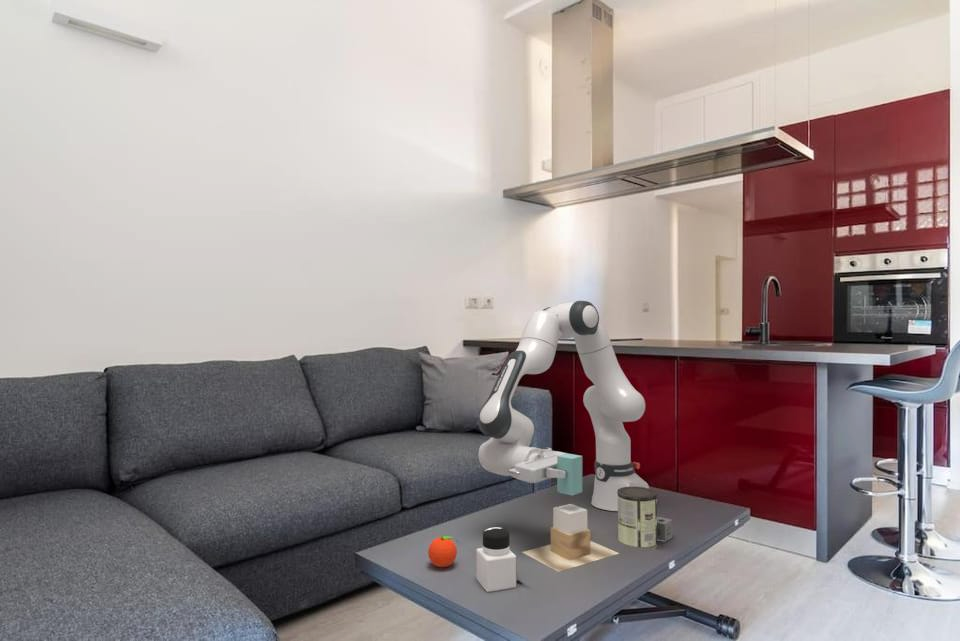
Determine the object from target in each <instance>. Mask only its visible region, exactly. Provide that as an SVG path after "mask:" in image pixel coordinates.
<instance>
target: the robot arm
mask: <svg viewBox="0 0 960 641" xmlns="http://www.w3.org/2000/svg"><path fill="white" fill-rule="evenodd" d="M606 329H607V328H606V327H605V325H604V323H603V322H602V320H601V318H600V315H599V312H598V309H597V308H596V307H595V306H594V304H593V303H592V302H590V301H588V300H587V301H586V300H576V301H569V302H563V303H560V304H557V305H553V306H548V307H546V308H544V309H542V310H538V311H537V310H536V311H534V312H533V313H532V314H531V315H530V317H529V319H527V322H526V324H525V327H524V329H523V332H522V335H521V336H520V341H519V343H518V346H517V347H516V350H514V351H512V352H511V353H509V355H508V356H507V358H506V359H505V361H504V363H503V365H502V367H501V370H500V372H499V373H498V376H497V378H496V380H495V382H494V385H493V387H492V390H491V392H490V393H489V395H488V398H487V399H486V400H485V402H484V404H483V405H482V407H481V409H480V410H479V412H478V417H477V419H478V420H477V424H478V428H479V430H480V432H482V434H483V435H485V436H488V437H490V438H489V439H488V440H486V441H485V442H483V443H481V445H480V446H479V449H478V454H477V455H478V456H477V457H478V460H479V463H480V465H481V467H482V468H483V469H485V470H486V471H488V472H490V473H493V474H495V475H499V476H503V477H510V476H511V477H512V478H514V479H517V480H520V481H521V482H525V483H529V484H530V483H531V484H536V483H540V482H542V481H546V480H549V479H557V478H563V479H564V478H566V477H568V475H567V474H568V472H567V470H557V456H560V455H563V454H567V453H568V452H563V451H558V450H557V451H556V450H553V449H552V448H551V447H534V446H531V445H532V441H533V439H534V435H535V424H534V422H533V420H532V419H531V418H529V417H528V416H526V415H525V414H523V413H521V411H518V410H517V409H514V408H513V406H512V398H513V396H514V394H515V391H516V389H517V387H518V385H519V382H520V380H521V379H522V377H523V376H524V375H538V374H542V373H544V372H546V371H547V370H548V369H550V368H551V366H552V364H553V362H554V360H555V359H554V358H555V356H556V351H557V347H558V343H559V340H565V339H572V338H573V340H574V344H575V346H576V351H577V353H578V356H579V360H580V363H581V365H582V368H583V371H584V374H585V376H586V377H587V379H589V380H590V381H591V382H592V384H593V385H590V386H589V387H588V388H587V389H586V390H585V392H584V394H583V399H582V402H583V405H584V407H585V409H586V410H587V412H588V415H589V416H590V419H591V423H592V426H593V431H594V436H595V460H594V472H595V476H594V482H593V484H594V485H593V493H592V495H591V503H590V504H591V505H592V506H593V507H595V508H597V509H600V510H604V511H605V510H606V511H610V512H618V494H617V490H618V489H620V488H623V487H644V488H649V489H650V486H649V484H648V483H647V481H645V480H644V479H643V478H642V477H640V476H639V475H638V474H637V473H636V471H635V469H637V470H639V469H640V468H641V464H640V462H636V461H633V462H632V460H631V456H632V455H631V449H632V448H631V444H632V443H631V437H630V436H629V434H628V432H627V431H626V429H625V427H624V423H628V422H629V423H630V422H636V421H638V420H640V419H641V417H643V415H644V413H645V411H646V401H645V398H644V396H643V395H642V394H641V393H640V392H639V391H638V390H636V389H635V387H634V386H633V385H632V384H631V382H630V381H629V378H627V376H626V375H625V373H624V371H623V369H622V368H621V366H620V363H619V362H618V359H617V356H616V353H615V350H614V348H613V344H612V342H611V339H610V336H609V334H608V331H607V330H606Z"/></svg>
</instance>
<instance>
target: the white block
mask: <svg viewBox="0 0 960 641" xmlns="http://www.w3.org/2000/svg"><path fill="white" fill-rule="evenodd" d="M552 509H553V510H552V511H553V512H552V513H553V515H552V518H553V520H552V521H553V522H552V527H553V528H556V529H558V530H560V531H562V532H564V533H567V534H569V535H570V534H574V533H578V532H582V531H585V530H587V529H588V509H587V508H583V507H581V506H578V505H575V504H573V503H569V504H565V505H559V506H555V507H553V508H552Z"/></svg>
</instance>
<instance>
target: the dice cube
mask: <svg viewBox="0 0 960 641" xmlns="http://www.w3.org/2000/svg"><path fill="white" fill-rule="evenodd" d="M671 536H672V537H673V520H672V519H670V518H665V517H661V516H657V539H659V540H664V541H665V540H667V539H668V538H669V537H671Z"/></svg>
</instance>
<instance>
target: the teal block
mask: <svg viewBox="0 0 960 641" xmlns="http://www.w3.org/2000/svg"><path fill="white" fill-rule="evenodd" d="M566 453H567V454H563V455H560V456H557V470H567V472H568V474H567V475H568V477H566V478H564V479H563V478H556V479H557V481H556V483H557V487H556V489H557V493H560V494H563V495H569V496H575V495H578V494H580V493H583V455H578V454H573V453H568V452H566Z"/></svg>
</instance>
